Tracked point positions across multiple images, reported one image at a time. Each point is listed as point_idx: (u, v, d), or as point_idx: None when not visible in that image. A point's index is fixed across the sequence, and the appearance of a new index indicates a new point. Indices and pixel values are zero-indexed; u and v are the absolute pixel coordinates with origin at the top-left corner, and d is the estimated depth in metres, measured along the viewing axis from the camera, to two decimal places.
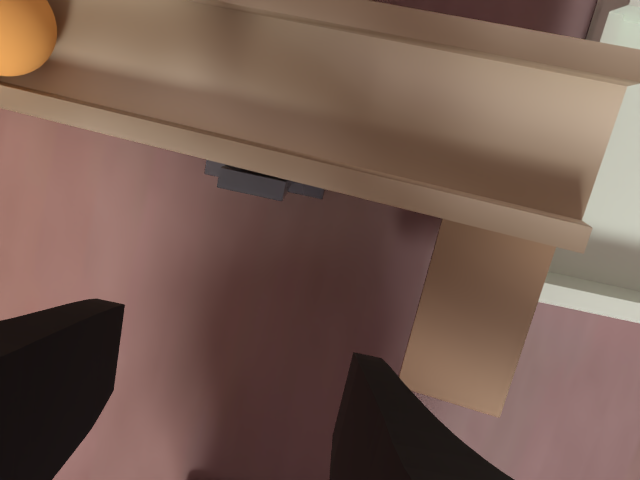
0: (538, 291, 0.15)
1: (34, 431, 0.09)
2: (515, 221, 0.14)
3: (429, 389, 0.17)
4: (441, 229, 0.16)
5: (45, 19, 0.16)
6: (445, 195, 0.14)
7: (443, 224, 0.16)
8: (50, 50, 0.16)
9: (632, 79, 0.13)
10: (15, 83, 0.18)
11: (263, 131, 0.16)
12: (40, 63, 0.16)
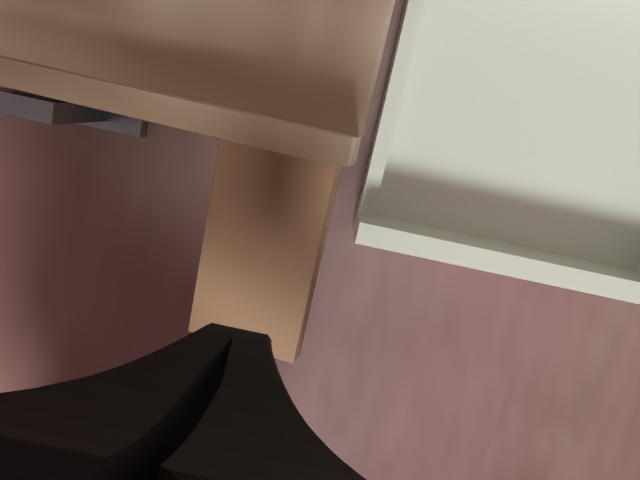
0: (321, 220, 0.14)
1: None
2: (271, 133, 0.13)
3: None
4: (219, 153, 0.14)
5: None
6: (199, 106, 0.13)
7: (221, 147, 0.14)
8: None
9: None
10: None
11: (32, 48, 0.15)
12: None
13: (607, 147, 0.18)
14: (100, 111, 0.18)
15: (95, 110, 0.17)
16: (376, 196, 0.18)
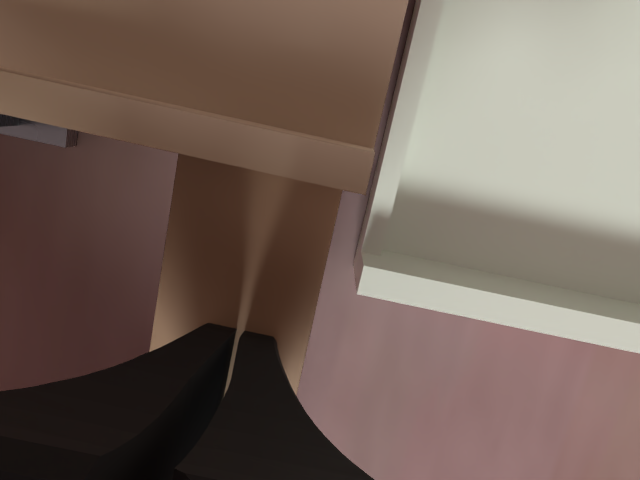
0: (323, 257, 0.11)
1: (181, 461, 0.09)
2: (262, 148, 0.09)
3: None
4: (178, 171, 0.10)
5: None
6: (154, 109, 0.09)
7: (181, 163, 0.10)
8: None
9: None
10: None
11: None
12: None
13: None
14: None
15: None
16: (386, 227, 0.13)
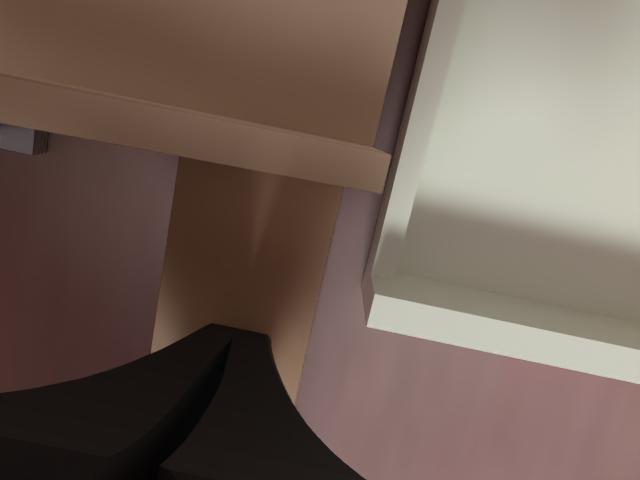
0: (325, 251, 0.11)
1: None
2: (286, 152, 0.09)
3: None
4: (179, 174, 0.10)
5: None
6: (173, 116, 0.09)
7: (181, 166, 0.10)
8: None
9: None
10: None
11: None
12: None
13: None
14: None
15: None
16: (400, 247, 0.12)
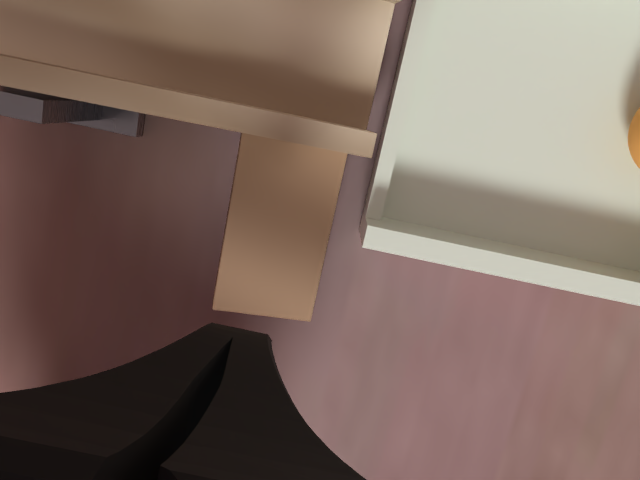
0: (334, 199, 0.17)
1: None
2: (311, 131, 0.15)
3: (244, 307, 0.17)
4: (241, 147, 0.16)
5: None
6: (244, 109, 0.14)
7: (243, 141, 0.16)
8: None
9: None
10: None
11: (28, 44, 0.14)
12: None
13: (627, 145, 0.17)
14: (94, 109, 0.17)
15: (89, 108, 0.17)
16: (384, 198, 0.17)
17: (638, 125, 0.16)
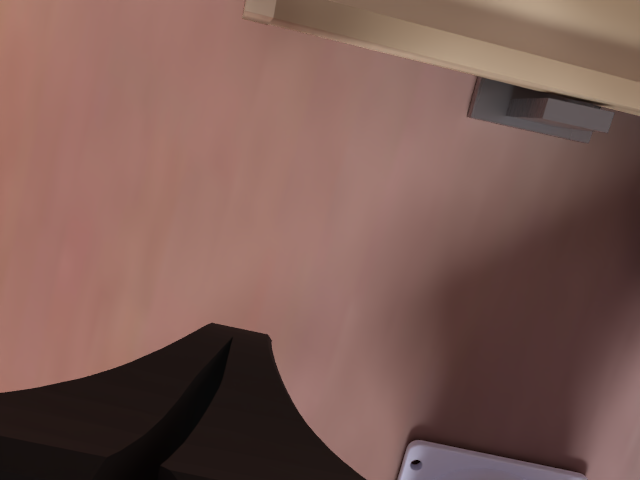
0: None
1: None
2: None
3: None
4: None
5: None
6: None
7: None
8: None
9: None
10: None
11: (591, 63, 0.16)
12: None
13: None
14: None
15: None
16: None
17: None
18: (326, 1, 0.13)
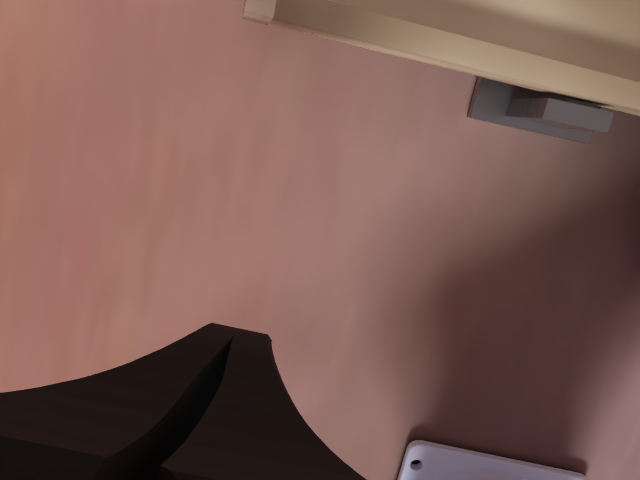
0: None
1: None
2: None
3: None
4: None
5: None
6: None
7: None
8: None
9: None
10: None
11: (591, 63, 0.16)
12: None
13: None
14: None
15: None
16: None
17: None
18: (326, 1, 0.13)
